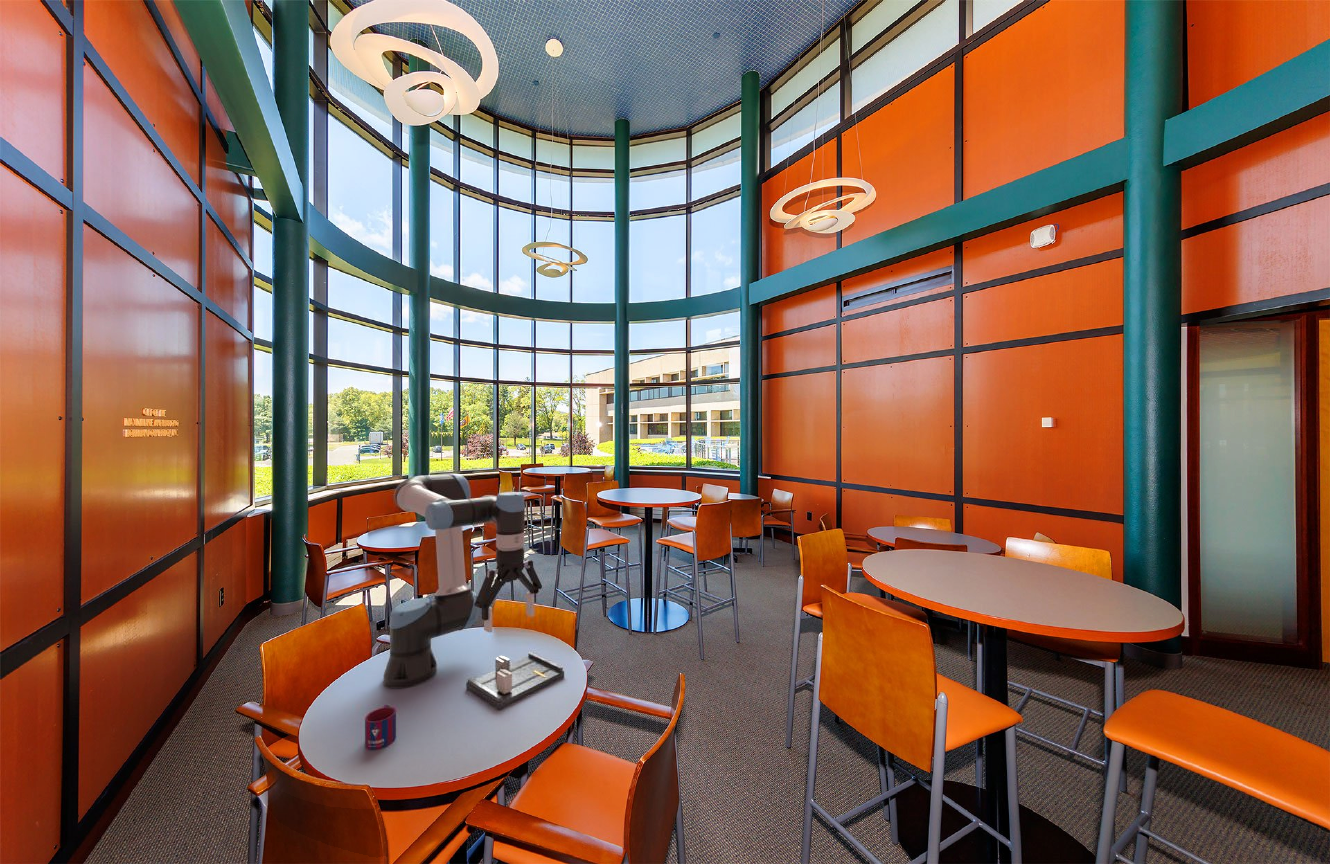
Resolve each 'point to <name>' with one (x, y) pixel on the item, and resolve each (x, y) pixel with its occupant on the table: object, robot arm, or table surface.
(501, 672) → the fader tab
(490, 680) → the console
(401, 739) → the table surface
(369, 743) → the mug
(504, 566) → the robot arm
